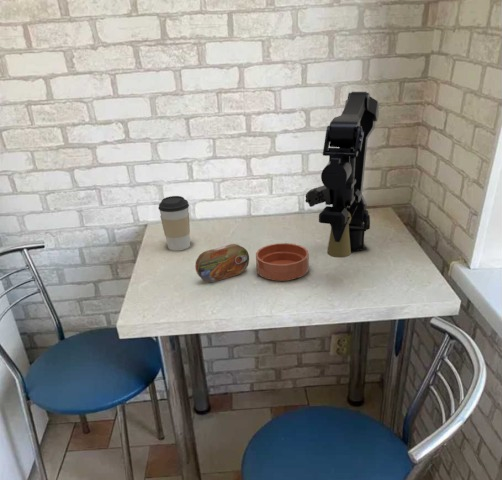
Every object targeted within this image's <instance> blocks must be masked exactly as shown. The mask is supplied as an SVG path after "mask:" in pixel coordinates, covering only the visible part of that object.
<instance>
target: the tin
mask: <svg viewBox="0 0 502 480" xmlns="http://www.w3.org/2000/svg"><path fill="white" fill-rule="evenodd" d="M249 264H250V254H249V252H248V250H247V249H246V248H245V247H244V246H242V245H239V244H237V243H230V244H227V245H224V246H219V247H215V248H212V249H208V250H205V251H203V252H202V253H200V254H199V255H198V257H197V258H196V260H195V266H194V267H195V272H196V274H197V275H198V277H199V278H200V279H201V280H202V281H204V282H206V283H216V282H218V281H222V280H225V279H228V278H232V277H236V276H239V275H241V274H243V272H245V271H246V270H247V268H248V266H249Z"/></svg>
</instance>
